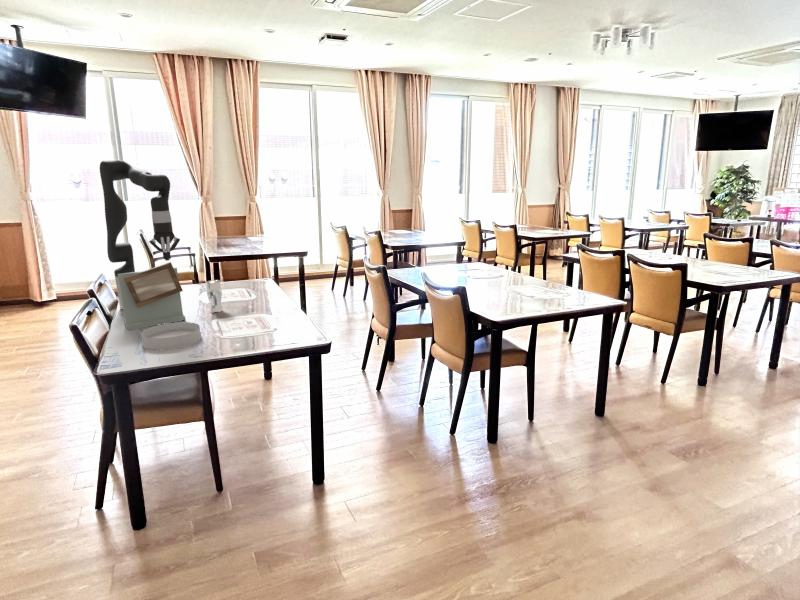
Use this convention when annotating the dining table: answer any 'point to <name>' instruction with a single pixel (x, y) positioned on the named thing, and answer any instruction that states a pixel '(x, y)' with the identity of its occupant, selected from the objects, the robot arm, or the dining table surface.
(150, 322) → the board
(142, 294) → the frame
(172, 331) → the dish
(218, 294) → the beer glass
